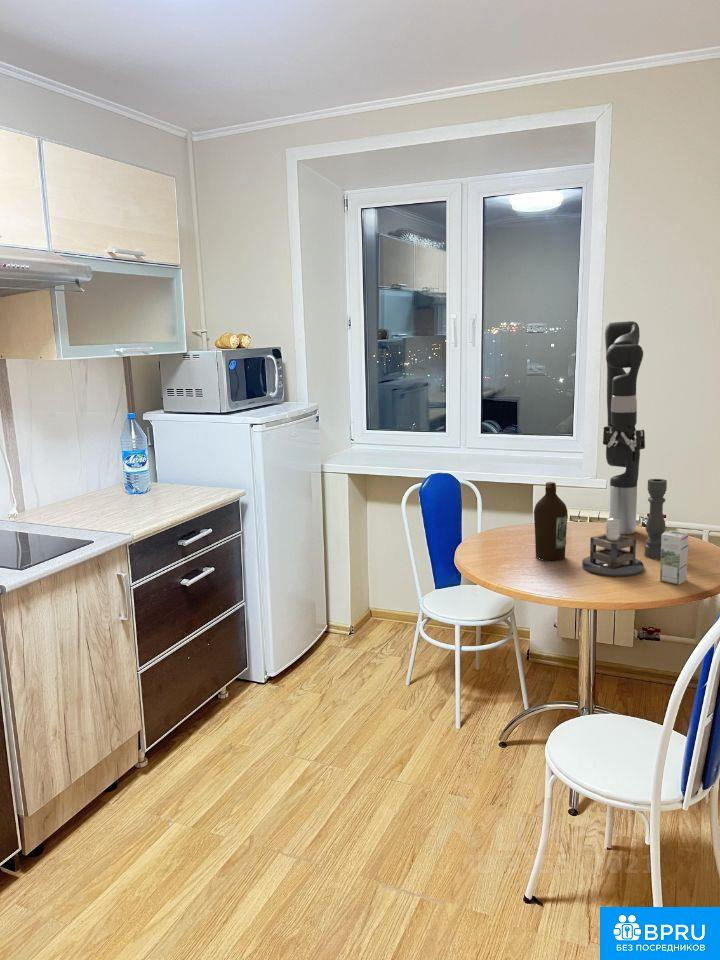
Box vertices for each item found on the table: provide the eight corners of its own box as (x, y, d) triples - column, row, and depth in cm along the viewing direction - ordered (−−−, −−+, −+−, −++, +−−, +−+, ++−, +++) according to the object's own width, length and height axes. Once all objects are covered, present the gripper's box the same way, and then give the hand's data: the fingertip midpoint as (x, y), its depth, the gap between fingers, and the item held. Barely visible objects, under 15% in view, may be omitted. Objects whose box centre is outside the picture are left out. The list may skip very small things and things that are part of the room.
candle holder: (666, 558, 229) (669, 482, 224) (646, 558, 230) (648, 482, 225) (662, 553, 235) (665, 478, 230) (642, 552, 236) (645, 478, 231)
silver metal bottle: (603, 560, 225) (604, 517, 222) (616, 560, 225) (618, 516, 222) (607, 564, 221) (608, 521, 218) (621, 564, 221) (622, 520, 218)
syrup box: (687, 580, 209) (689, 532, 206) (678, 585, 205) (681, 536, 202) (667, 576, 213) (669, 529, 210) (659, 581, 209) (660, 533, 206)
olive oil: (527, 558, 236) (527, 484, 231) (543, 550, 243) (543, 478, 239) (557, 563, 229) (558, 487, 224) (572, 555, 236) (573, 481, 232)
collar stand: (569, 565, 226) (570, 536, 225) (609, 555, 235) (610, 527, 233) (615, 580, 211) (615, 550, 209) (656, 569, 220) (657, 539, 218)
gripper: (597, 409, 227) (597, 459, 230) (634, 413, 214) (633, 465, 218) (613, 406, 230) (613, 456, 234) (651, 409, 218) (650, 461, 222)
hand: (623, 460), depth 226 cm, fingers open, 8 cm apart
